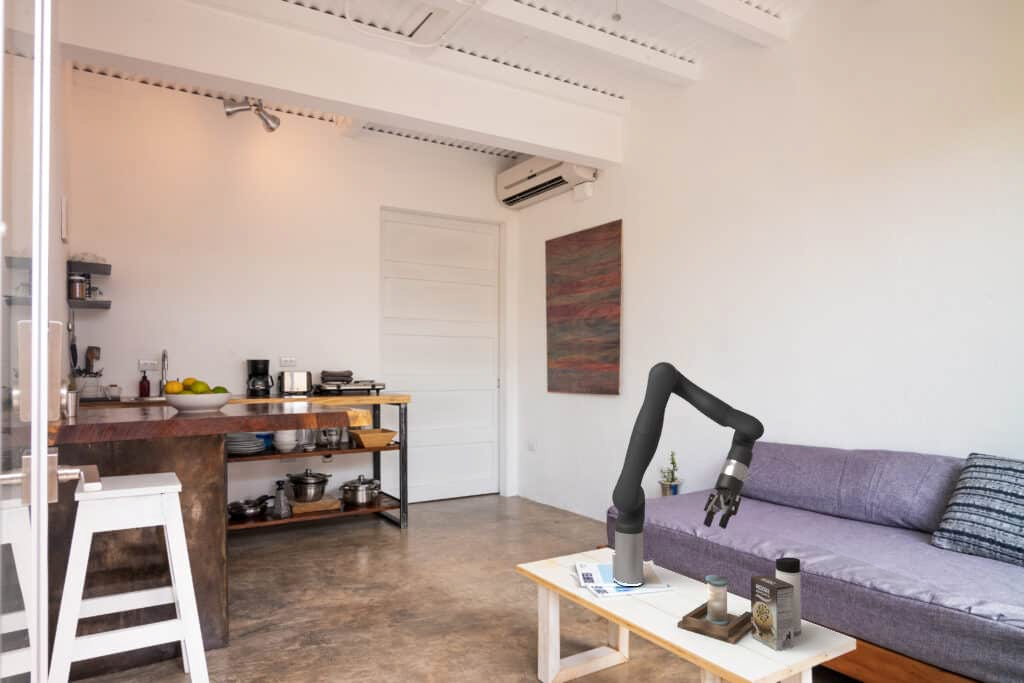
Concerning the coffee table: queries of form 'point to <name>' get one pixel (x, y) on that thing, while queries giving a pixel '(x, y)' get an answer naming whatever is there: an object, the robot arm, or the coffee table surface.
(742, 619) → the open-sided brown tray
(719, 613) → the beige and blue cylinder
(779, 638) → the coffee box
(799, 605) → the travel mug
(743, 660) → the coffee table surface
